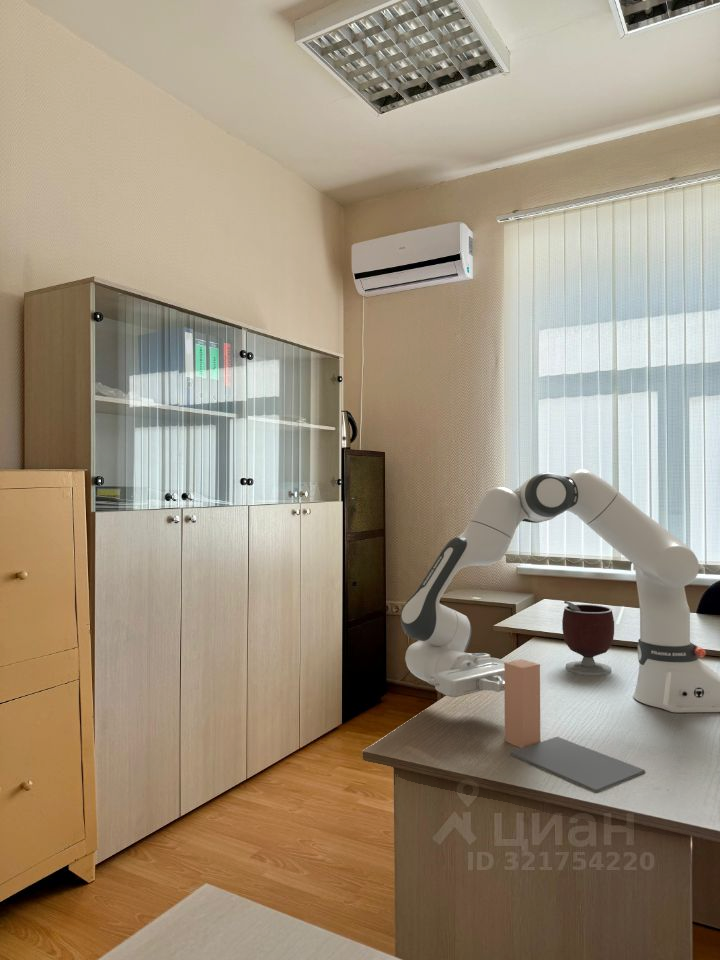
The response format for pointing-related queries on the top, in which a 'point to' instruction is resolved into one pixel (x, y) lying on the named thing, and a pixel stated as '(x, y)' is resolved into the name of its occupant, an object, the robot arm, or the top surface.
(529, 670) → the terracotta block
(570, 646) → the mate gourd
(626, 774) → the charcoal mat
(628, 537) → the robot arm
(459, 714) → the top surface
